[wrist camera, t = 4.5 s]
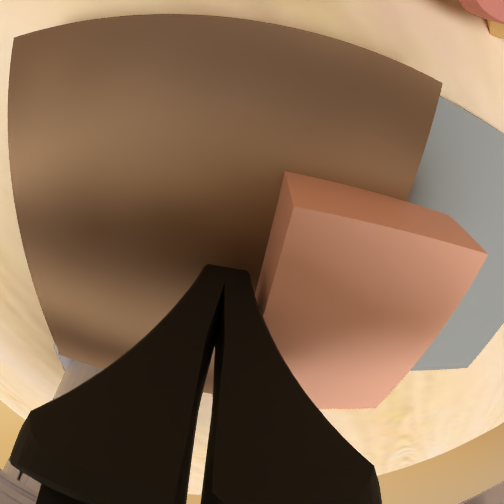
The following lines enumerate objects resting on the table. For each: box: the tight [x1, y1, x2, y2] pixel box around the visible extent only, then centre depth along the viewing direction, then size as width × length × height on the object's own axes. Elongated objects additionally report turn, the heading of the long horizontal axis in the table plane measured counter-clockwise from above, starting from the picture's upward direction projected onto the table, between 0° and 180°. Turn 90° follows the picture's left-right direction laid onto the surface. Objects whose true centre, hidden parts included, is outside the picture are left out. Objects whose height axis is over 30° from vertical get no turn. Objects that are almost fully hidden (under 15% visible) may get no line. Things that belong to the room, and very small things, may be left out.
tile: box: [255, 171, 488, 409], centre depth 9 cm, size 8×6×2 cm
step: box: [8, 14, 442, 394], centre depth 11 cm, size 16×14×3 cm
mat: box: [406, 96, 504, 371], centre depth 13 cm, size 16×14×1 cm
